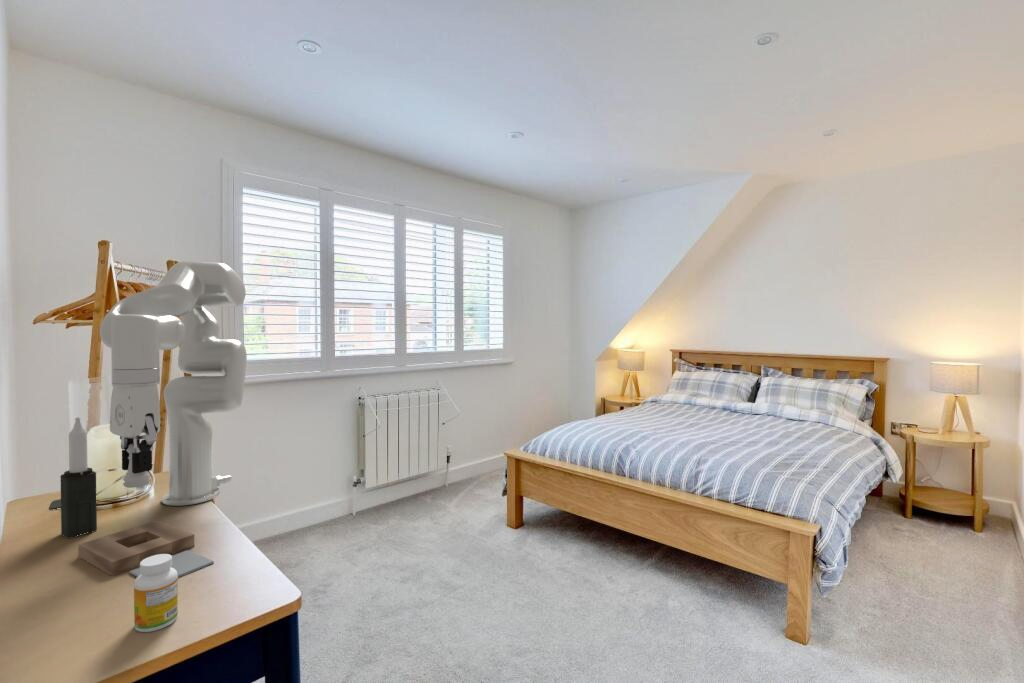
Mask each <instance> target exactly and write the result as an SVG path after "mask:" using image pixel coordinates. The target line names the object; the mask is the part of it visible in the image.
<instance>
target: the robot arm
mask: <svg viewBox="0 0 1024 683" xmlns="http://www.w3.org/2000/svg"><path fill="white" fill-rule="evenodd" d="M246 293H247V292H246V287H245V284H244V281H243V279H242V278H241V277H240V276H239V275H238V273H237V272H236V271H235V270H234V269H233V268H232V267H230V266H229V265H227V264H226V263H221V262H212V261H211V262H210V261H179V262H177V263H175V264H173V265H172V266H171V267H170V268H169V269H168V271H167V272H166V273H165V274H164V276H163V277H162V278H161V280H160V281H159V283H157V285H156V286H155V287H151V288H148V289H144V290H142V291H139V292H137V293H134V294H131V295H129V296H126V297H124V298H122V299H121V300H119V301H117V302H116V303H115V304H114V305H113V306H112V307H111V309H110V310H109V311H108V312H107V313H106V315H105V316H104V318H103V320H102V322H101V323H100V328H99V336H100V339H101V342H102V343H103V344H104V345H105V346H106V347H107V348H109V349H110V351H111V387H112V390H111V397H110V409H109V410H110V411H109V412H110V414H109V431H110V432H111V434H113V435H115V436H118V437H119V439H120V449H121V469H122V470H123V471H128V467H129V459H128V457H129V453H128V452H127V451H126V450H127V449H128V448H129V445H130V444H133V446H134V452H135V453H132V473H134V474H136V473H141V472H145V471H148V472H149V471H152V470H153V449H154V443H155V442H156V441H157V440H158V433H159V432H160V431H161V429H160V428H161V409H160V408H161V407H160V399H159V398H160V396H159V395H160V394H159V388H158V385H160V381H161V380H160V379H161V378H160V375H161V374H160V371H161V370H160V351H169V350H170V351H171V350H174V349H177V348H178V347H179V351H178V358H177V365H178V368H179V370H180V371H181V372H183V373H185V374H188V375H189V374H190V375H189V376H188V375H187V376H180V377H176V378H173V379H171V380H169V381H168V382H166V383H167V384H166V385H165V386H164V389H163V400H164V405H165V408H166V414H167V422H168V480H169V481H168V482H169V483H168V486H169V487H168V488H169V490H168V492H167V493H165V494H164V495H163V496H162V497H161V503H162V504H164V505H166V506H173V507H174V506H179V507H180V506H191V505H196V504H201V503H206V502H208V501H210V500H213V499H215V498H217V497H218V496H219V495H220V491H221V489H220V488H219V487H220V485H221V484H227V483H230V482H232V475H231V474H226V475H224V476H221V475H216V476H215V475H214V474H213V473H214V470H213V464H214V463H213V462H214V460H213V459H214V458H213V456H214V454H213V451H214V449H213V447H214V446H213V444H214V443H213V439H214V438H213V437H214V436H213V427H212V424H211V423H210V421H209V420H208V419H207V418H206V417H205V416H204V415H203V414H209V413H211V414H212V413H213V414H214V413H230V412H235V411H237V410H238V409H239V408H240V406H241V405H242V401H243V396H244V389H245V379H246V371H247V370H246V369H247V359H248V358H247V356H248V355H247V349H246V346H245V345H244V343H243V342H241V341H240V340H238V339H227V338H225V339H224V338H221V339H220V338H219V337H220V330H221V325H220V323H219V322H218V320H217V319H216V318H215V316H214V315H213V314H212V313H211V312H209V311H208V310H207V309H206V308H205V307H224V308H228V307H229V308H235V307H239V306H241V305H242V304H243V303H244V301H245V299H246ZM178 317H181V319H182V320H181V319H180V318H178ZM197 375H198V376H197ZM199 375H200V376H199ZM207 375H208V376H207ZM209 375H210V376H209ZM213 375H214V376H213ZM142 433H144V434H143V435H141V434H142ZM140 440H141V441H140ZM204 496H205V497H204ZM207 499H208V500H207Z"/></svg>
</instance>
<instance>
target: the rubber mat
mask: <svg viewBox="0 0 1024 683" xmlns="http://www.w3.org/2000/svg"><path fill="white" fill-rule="evenodd" d="M171 556H172V566H171V568H174V569H175V570H176V571H177V575H178V578H181V577H184V576H185V575H188V574H190V573H194V572H196V571H198V570H200V568H201V569H203V568H205V567H208V566H210V564H211V565H213V564H214V562H215V561H214V560H212V559H210V558H209V557H208V558H207V557H205V556H203V555H201V554H199V553H196V552H193V551H191V550H189V549H186V550H183V551H180V552H178V553H175V554H172V555H171ZM212 563H213V564H212ZM128 571H129V575H131V574H132V575H131V576H133V575H134V576H133V577H135V576H136V578H137V577H138V576H139V575H141V574H140V567H136V568H133V569H131V570H128Z"/></svg>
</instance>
